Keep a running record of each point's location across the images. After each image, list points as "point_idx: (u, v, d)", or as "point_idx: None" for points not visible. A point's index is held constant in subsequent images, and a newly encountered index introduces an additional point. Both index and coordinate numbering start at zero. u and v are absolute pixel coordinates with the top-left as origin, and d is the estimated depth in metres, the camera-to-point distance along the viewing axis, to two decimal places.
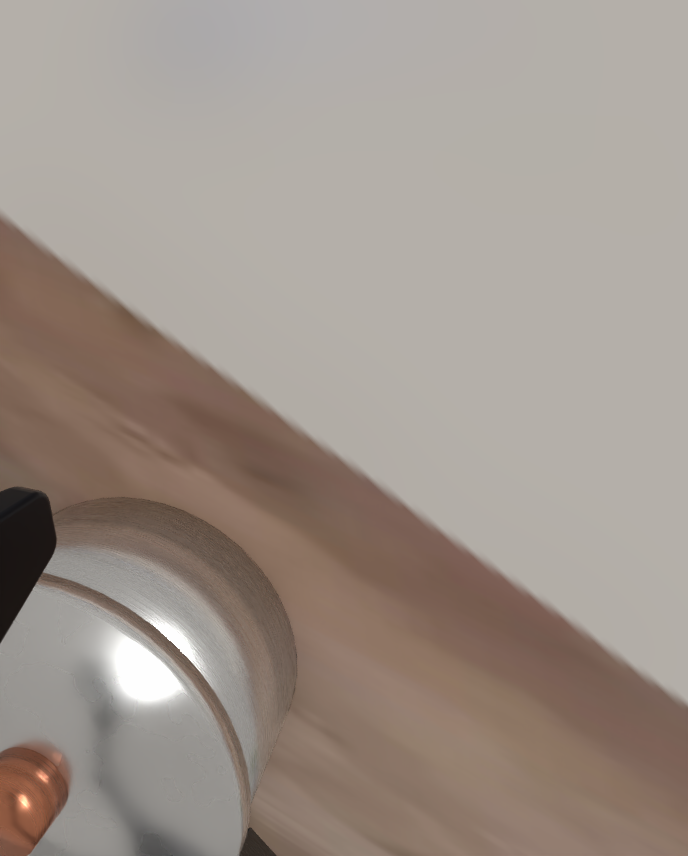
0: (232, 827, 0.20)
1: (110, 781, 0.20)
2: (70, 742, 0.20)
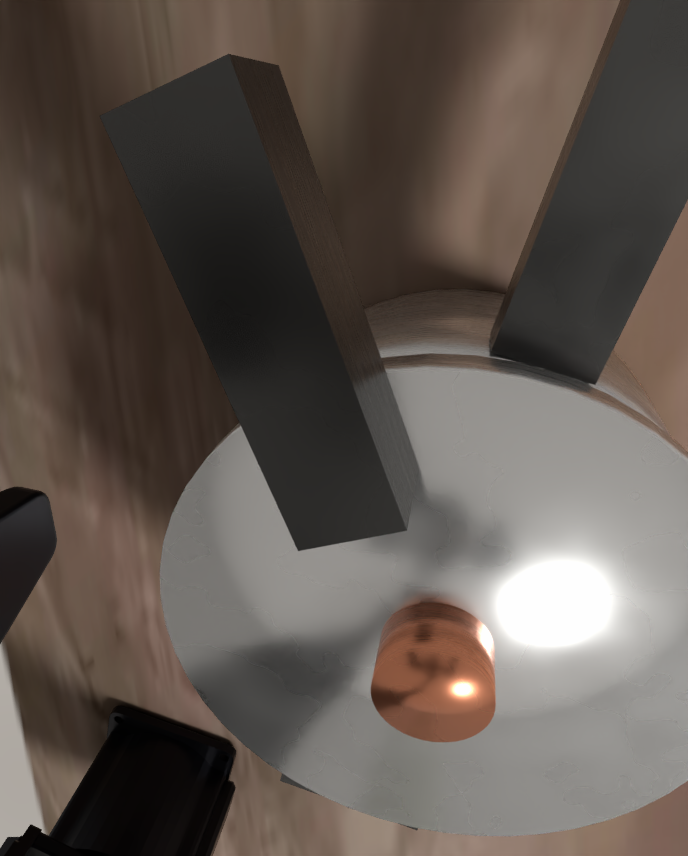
0: (557, 825, 0.18)
1: (518, 720, 0.16)
2: (542, 672, 0.15)
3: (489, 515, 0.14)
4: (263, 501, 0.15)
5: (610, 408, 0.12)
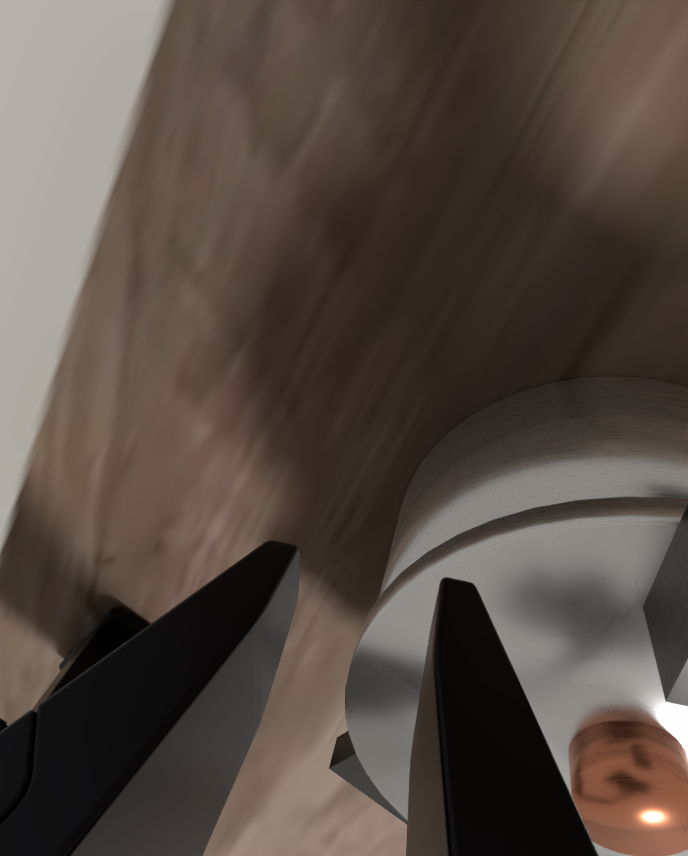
0: None
1: None
2: None
3: None
4: (565, 592, 0.14)
5: None
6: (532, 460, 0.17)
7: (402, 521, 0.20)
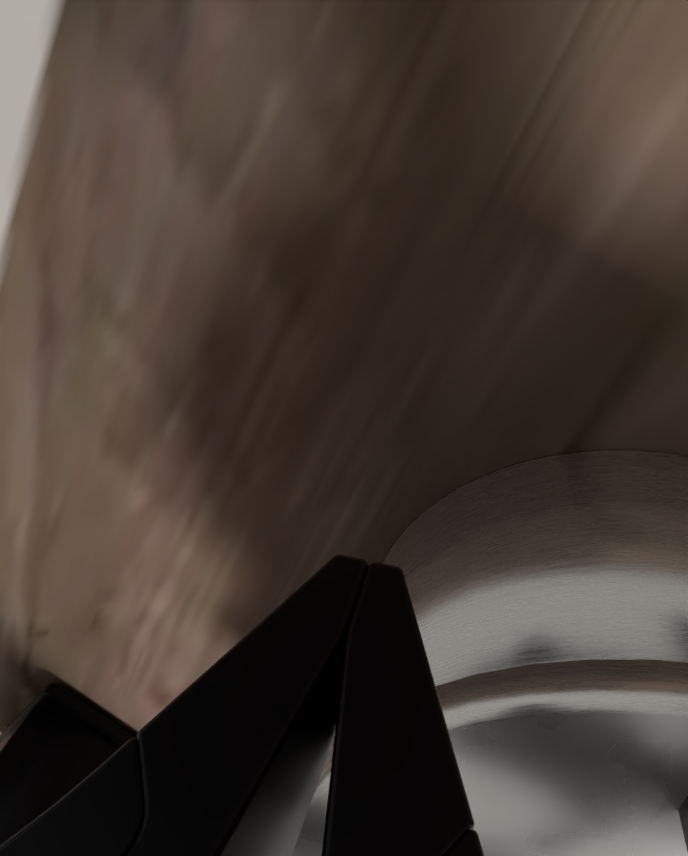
0: None
1: None
2: None
3: None
4: (572, 784, 0.10)
5: None
6: (527, 574, 0.13)
7: None
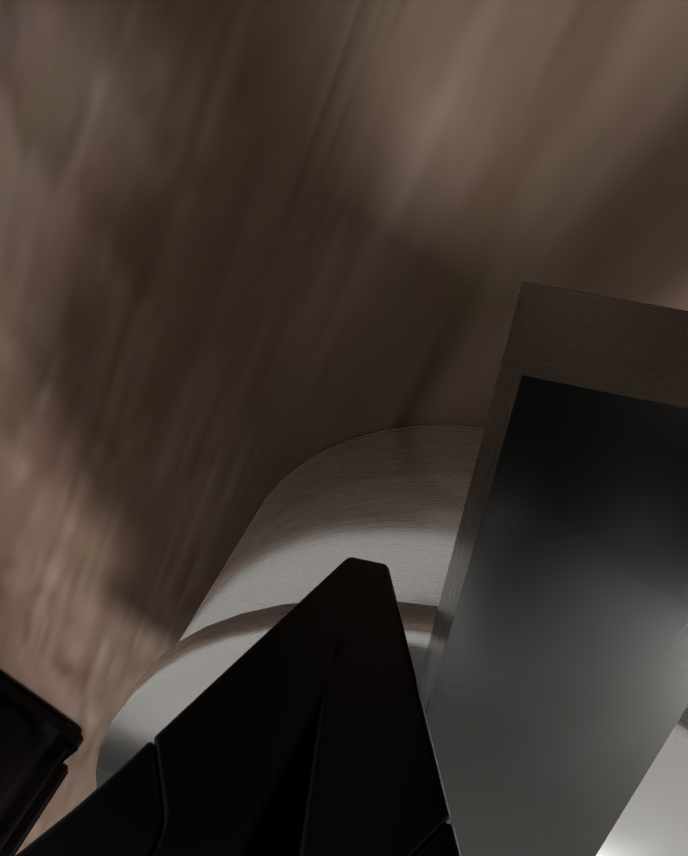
0: None
1: None
2: None
3: None
4: None
5: None
6: (316, 532, 0.14)
7: None
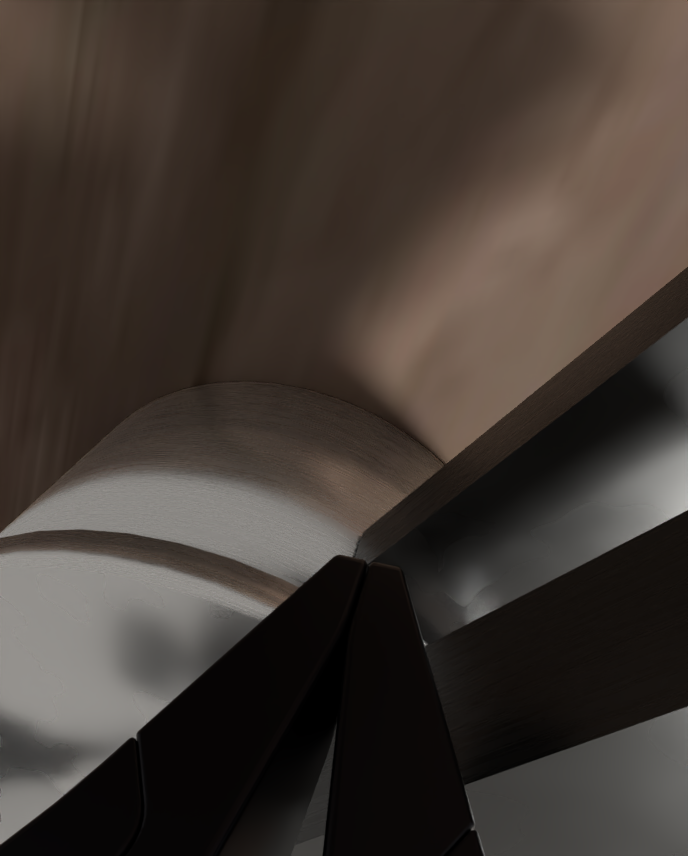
0: None
1: None
2: None
3: None
4: (205, 668, 0.11)
5: None
6: (77, 479, 0.14)
7: None
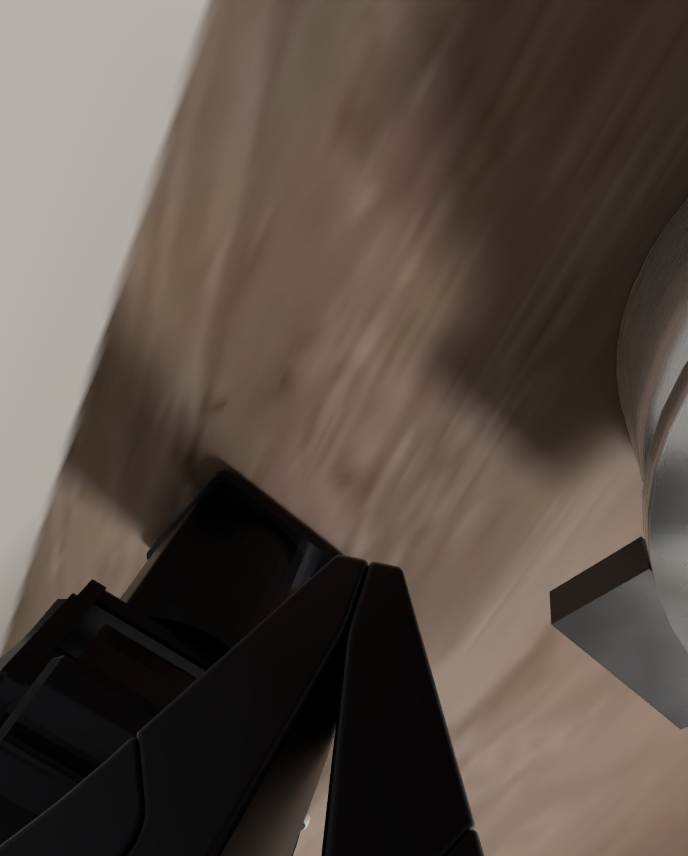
0: None
1: None
2: None
3: None
4: None
5: None
6: None
7: (677, 267, 0.15)
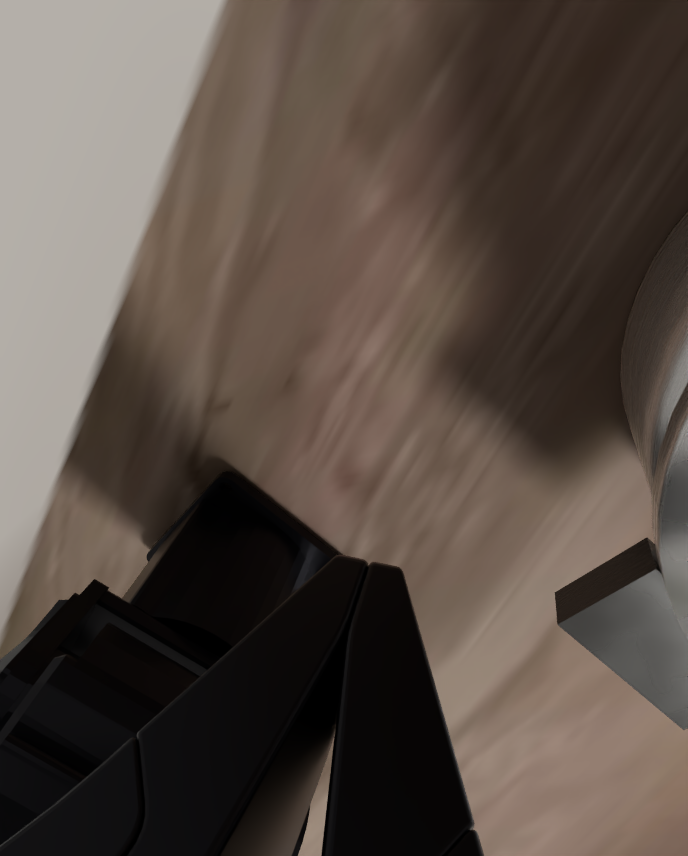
0: None
1: None
2: None
3: None
4: None
5: None
6: None
7: (685, 271, 0.15)
